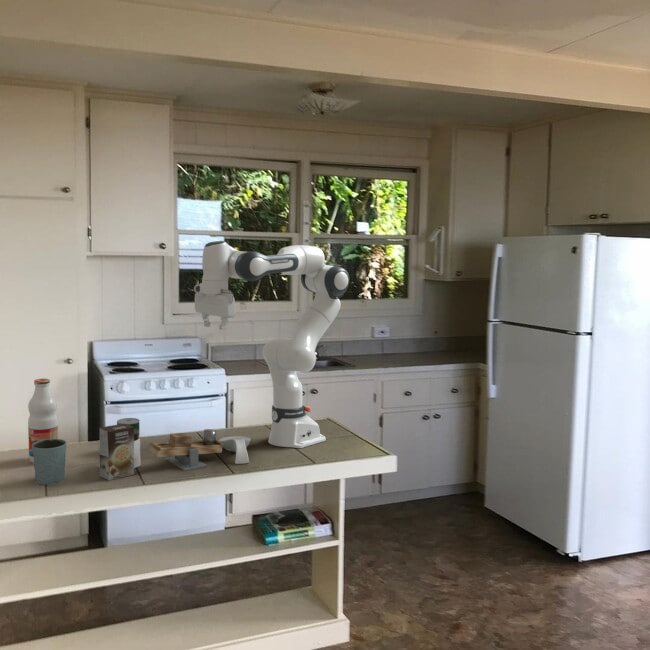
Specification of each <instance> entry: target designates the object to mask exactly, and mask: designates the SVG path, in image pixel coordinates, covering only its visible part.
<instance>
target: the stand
mask: <svg viewBox="0 0 650 650" xmlns="http://www.w3.org/2000/svg"><path fill="white" fill-rule="evenodd" d="M166 461H168V462H170V463H171V464H173V465H174V466H176V467H178V468H179V469H181V470H182V471H184V472H187V471H191V470H192V471H193V470H196V469H202V468H206V467H207V464H205V463H204V462H202V461H201V460H199V454H198V449H197V448H195V449H190V450H189V455H178V456H169V457H166Z"/></svg>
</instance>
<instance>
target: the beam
mask: <svg viewBox="0 0 650 650" xmlns="http://www.w3.org/2000/svg"><path fill="white" fill-rule="evenodd" d="M202 443H203V440H194V441H193V440H192V443H191V446H190V447H174V448H172V447H171V446H169V442H161V443H160V442H157V443H155V442H152V441H149V447H148V452H149V453H151V454H153V455H154V456H156V457H158V458H162V457H175V456H178V455H189V450H190V449H195V448H197V449H198V455H203V454H214V453H215V454H216V453H217V454H218V453H219V454H220V453H223V447H222V446H223V443H221V442H219V441H218V440H217V439H216V441H215V445H206V446H204V445H202Z"/></svg>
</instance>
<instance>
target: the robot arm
mask: <svg viewBox="0 0 650 650" xmlns="http://www.w3.org/2000/svg"><path fill="white" fill-rule="evenodd" d="M325 260H326V259H325V253H324V252H323V250H322V248H320V247H318V246H313V245H305V244H304V245H303V244H302V245H301V244H300V245H299V244H297V245H289V246H284V247H282V248H280V249H279V251H278V252H277V254H273V255H264V254H262V253H260V252H258V251H255V250H254V251H251V250H250V251H242V250H241V251H240V250H238V249H236V248H234V247H233V246H231V245H229V244H228V243H227V242H226V241H225V240H217V241H216V240H215V241H211V242H208V243H206V244H204V247H203V250H202V260H201V261H202V265H201V267H202V271H203V275H202V277H201V283H199V284H197V285H194V287H193V290H194V292H195V293H194V310H195V312H196V313H198V314H201V317H202V321H203V326H204V327H206V328H210V327H211V324H212V323H211V321H210V319H209V317H210V316H215V317H220V321H221V322H220V324H219V330H221V331H225V330H226V329H227V324H228V323H229V322H228V321H229V319H230V318H235V316H236V313H237V312H236V311H237V309H236V300H235V297H234V294H233V293H232V290H229V278H232V279H239V280H245V281H249V282H257V281H258V280H260V279H262V278H263V277H265V276H267V275H270V274H278V273H280V274H282V275H287V276H300V282H301V284H302V287H303V288H304V289H305V290H306V291H308V292H311V293H315V296H314V299H313V301H312V302H311V303H310V304H309V305H308V306H307V308H306V309H305V310H304V312H303V313H302V314H301V316H300V317H299V318H298V320H297V321H296V322H295V325H294V328H295V333H294V335H293V338H292V339H290V340H287V339H283V338H275V339H269V340H268V341H267V342H266V343H265V344H264V345H263V347H262V357H263V359H264V361H265V362H266V364H267V367H268V369H269V373H270V377H271V381H272V393H273V394H272V396H273V397H272V398H273V399H272V400H273V401H272V406H271V421H272V422H271V428H270V434H269V437H268V440H267V442H268V443H269V444H270V445H272V446H275V447H282V448H295V449H303V448H306V447H308V446H309V447H310V446H311V445H312V446H313V445H316V444H319V443H323V442H326V436H325V435H323V434H321V431H320V430H321V429H320V425H319V423H317V422H316V421H315V420H313V418H311V417H310V416H309V415H308V414H307V413H311V411H312V407H311V406H308V405H306V406H305V405H303V388H304V387H303V384H302V382H301V380H299V377H298V374H299V373H309V372H310V371H312V369H313V368H314V367H315V365H316V362H317V355H316V349H317V346H318V344H319V341H320V339H322V337H323V335H324V334H325V333H326V331H327V330H328V329H329V327H330V326H331V325H332V323H333V322H334V321H335V319H336V317H337V316H338V314H339V312H340V310H341V304H342V303H341V300H340V299H341V298H342V297H343V296H344V295H345V293H346V291H347V290H348V288H349V285H350V274H349V272H348V271H347V270H346V269H345V268H343V267H341V266H337V265H331V264H326V263H325ZM306 412H307V413H306Z"/></svg>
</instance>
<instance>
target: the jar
mask: <svg viewBox="0 0 650 650" xmlns="http://www.w3.org/2000/svg"><path fill="white" fill-rule="evenodd" d="M139 431H140V430H139ZM139 431H138V430H137V429H134V469H136V468H138V467H141V438H140V439H139V435H140V434H139V433H140V432H139Z"/></svg>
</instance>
